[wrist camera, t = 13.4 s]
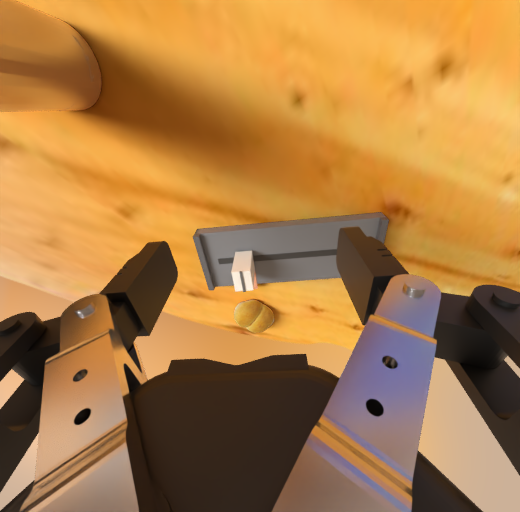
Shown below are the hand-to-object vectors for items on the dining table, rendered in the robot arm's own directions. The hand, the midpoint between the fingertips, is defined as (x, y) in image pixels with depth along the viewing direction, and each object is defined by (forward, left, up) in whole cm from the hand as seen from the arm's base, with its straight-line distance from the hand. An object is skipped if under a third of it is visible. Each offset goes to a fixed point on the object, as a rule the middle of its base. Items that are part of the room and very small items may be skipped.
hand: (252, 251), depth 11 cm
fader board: (+3, -18, -28) cm, 33 cm away
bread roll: (-5, -34, -28) cm, 44 cm away
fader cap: (-5, -18, -25) cm, 31 cm away
